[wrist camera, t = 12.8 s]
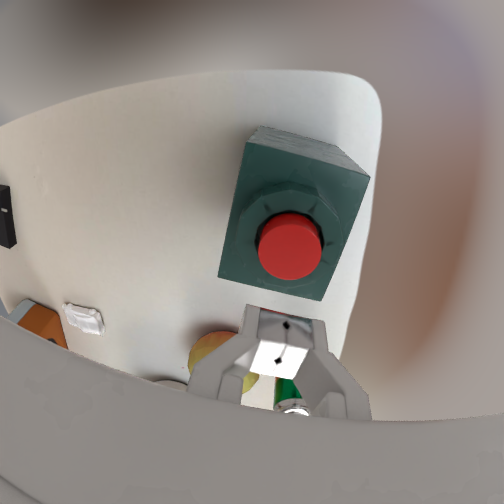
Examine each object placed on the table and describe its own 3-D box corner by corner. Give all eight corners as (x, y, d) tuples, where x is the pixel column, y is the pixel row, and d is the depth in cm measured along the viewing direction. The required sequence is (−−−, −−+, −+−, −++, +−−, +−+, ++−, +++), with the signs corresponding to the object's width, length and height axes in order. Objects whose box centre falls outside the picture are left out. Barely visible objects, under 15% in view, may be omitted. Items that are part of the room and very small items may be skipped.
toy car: (108, 330, 44) (102, 339, 42) (71, 321, 45) (65, 329, 43) (101, 308, 42) (95, 317, 40) (64, 300, 43) (57, 308, 41)
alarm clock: (76, 371, 53) (36, 444, 35) (45, 356, 53) (3, 423, 35) (59, 309, 44) (-4, 395, 26) (25, 294, 44) (-38, 368, 26)
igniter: (260, 125, 28) (242, 145, 16) (337, 146, 28) (379, 185, 16) (239, 215, 33) (212, 292, 21) (310, 233, 33) (323, 317, 21)
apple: (258, 319, 40) (252, 364, 33) (266, 365, 44) (262, 408, 37) (188, 321, 41) (172, 363, 34) (204, 365, 46) (193, 406, 39)
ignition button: (268, 205, 18) (266, 217, 16) (326, 221, 18) (330, 233, 16) (254, 257, 19) (251, 272, 18) (308, 270, 19) (310, 286, 18)
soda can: (285, 327, 40) (283, 401, 29) (318, 337, 40) (324, 409, 30) (271, 350, 42) (266, 420, 32) (302, 359, 43) (304, 428, 32)
